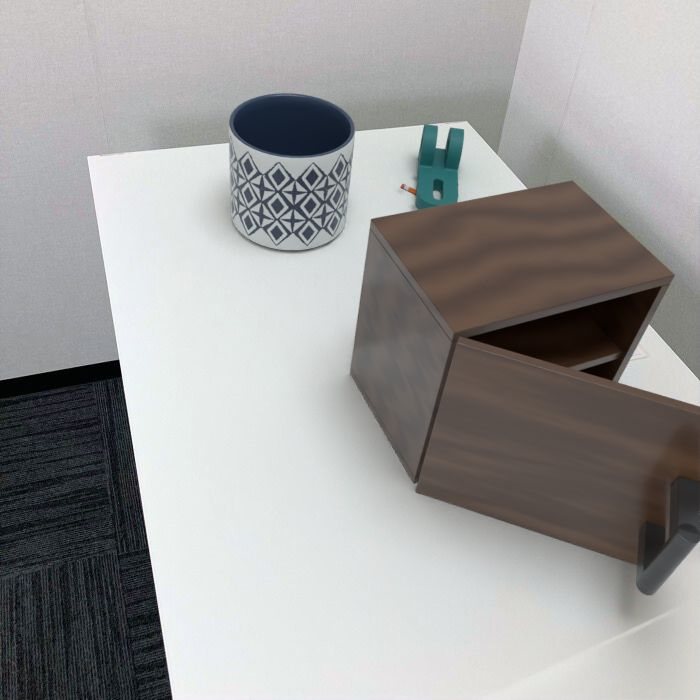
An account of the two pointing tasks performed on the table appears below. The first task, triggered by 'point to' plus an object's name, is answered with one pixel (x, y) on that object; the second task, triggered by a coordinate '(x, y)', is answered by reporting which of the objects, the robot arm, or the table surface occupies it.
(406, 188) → the pencil
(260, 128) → the planter
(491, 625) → the table surface
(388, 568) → the table surface
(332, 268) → the table surface
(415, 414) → the cupboard
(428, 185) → the bracket
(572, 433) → the door
